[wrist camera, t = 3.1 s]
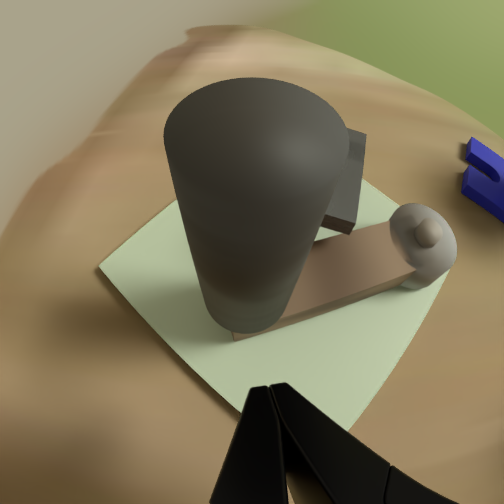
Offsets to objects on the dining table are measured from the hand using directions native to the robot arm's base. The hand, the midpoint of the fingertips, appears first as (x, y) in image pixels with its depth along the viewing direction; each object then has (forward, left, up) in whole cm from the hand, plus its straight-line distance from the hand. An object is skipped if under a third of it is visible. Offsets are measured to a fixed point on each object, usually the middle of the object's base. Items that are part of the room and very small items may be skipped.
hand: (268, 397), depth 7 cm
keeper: (+10, +4, -8) cm, 14 cm away
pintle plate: (+7, +3, -8) cm, 11 cm away
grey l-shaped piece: (+8, +1, -7) cm, 11 cm away
